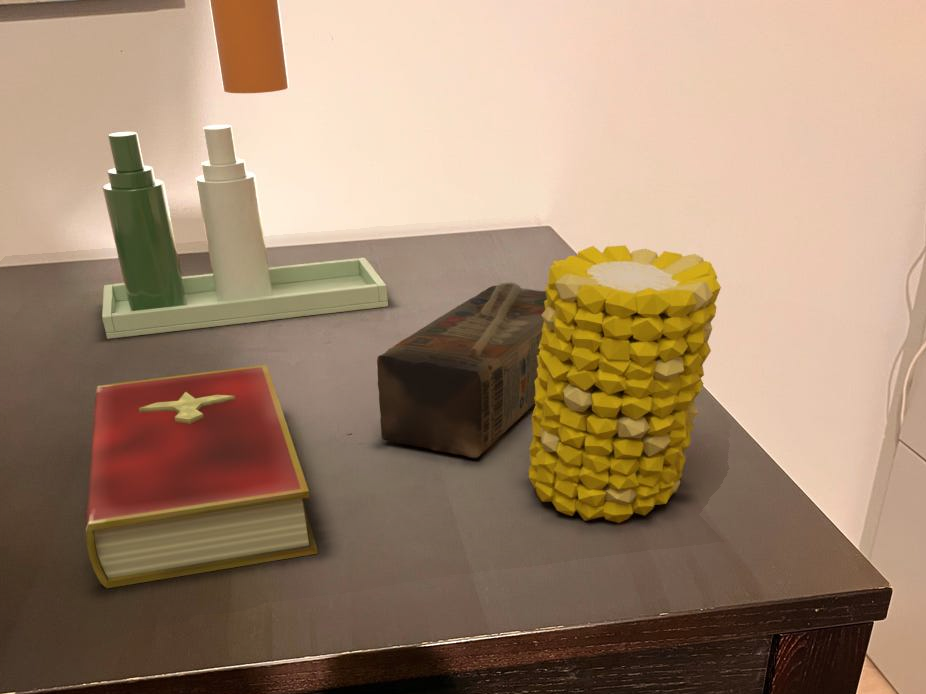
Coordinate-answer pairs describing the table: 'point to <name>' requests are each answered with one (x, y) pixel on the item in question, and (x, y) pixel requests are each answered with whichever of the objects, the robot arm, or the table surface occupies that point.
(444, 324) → the beverage carton
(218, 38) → the amber bottle
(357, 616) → the table surface
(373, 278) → the tray
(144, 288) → the green bottle
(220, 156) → the frosted bottle
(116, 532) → the hardcover book
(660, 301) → the food
